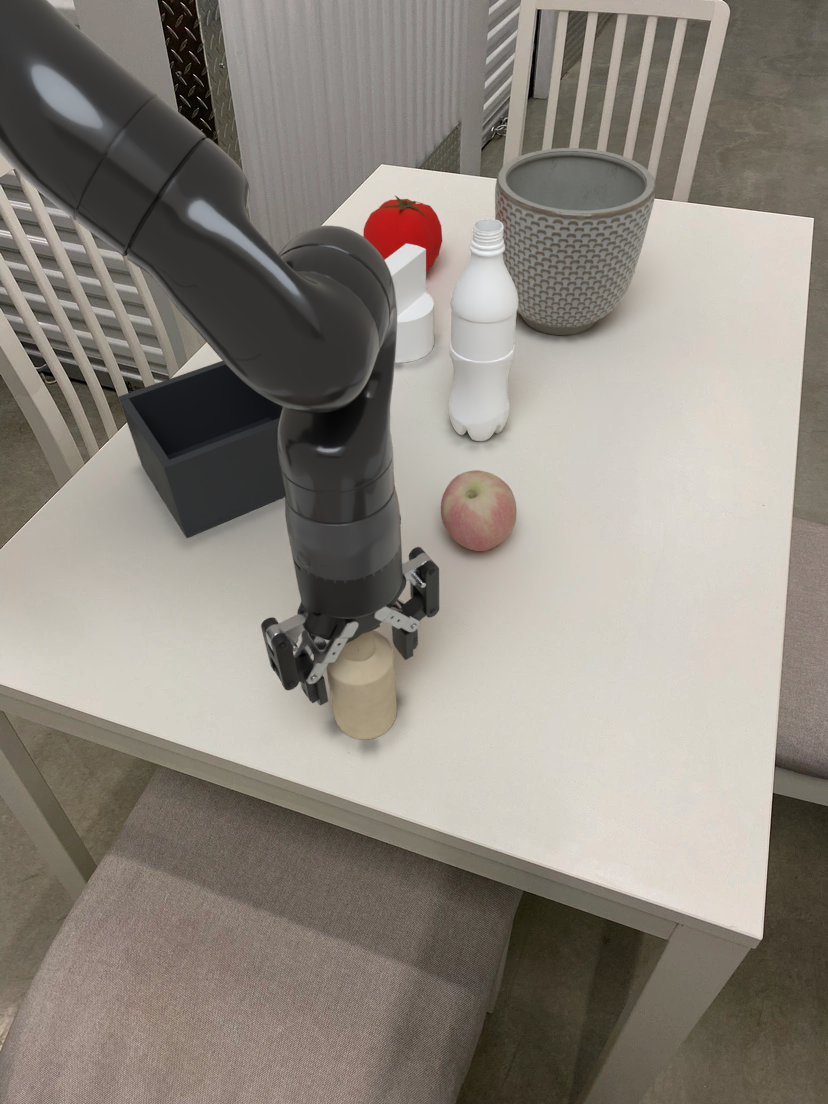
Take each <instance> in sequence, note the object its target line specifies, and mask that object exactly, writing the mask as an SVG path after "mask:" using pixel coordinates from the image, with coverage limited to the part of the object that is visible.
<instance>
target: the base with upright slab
mask: <svg viewBox="0 0 828 1104" xmlns="http://www.w3.org/2000/svg"><path fill="white" fill-rule="evenodd" d="M385 262H386V264H387V266H388V268H389V270H390V273H391V276H392V278H393V282H394V286H395V291H396V299H397V340H396V354H395V364H396V363H397V364H401V363H410V362H415V361H418V360H420V359H422V358H425V357H426V356H427V355H428V354H430V353H431V351H432V350H433V348H434V345H435V301H434V299H433V297H432V296H431V295H430V294H429V293H428V292H427V272H426V249H425V248H422V247H420V246H417V245H412V244H405V245H404V246H402V247H401V248H400V249H398V250H397V251H396V252H394V253H393V254H392V255H390V256H389V257H388V258H386V259H385Z"/></svg>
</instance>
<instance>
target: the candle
mask: <svg viewBox="0 0 828 1104" xmlns="http://www.w3.org/2000/svg"><path fill="white" fill-rule="evenodd" d="M325 671H326V676H327V681H328V687H329V688H328V689H329V693H330V699H331V706H332V712H333V716H334V720H335V723H336V724H337V726H338V728H339V730H341V732H343V733H344V734H345V735H346V736H348V737H350V738H352V739H355V740H356V739H357V740H364V741H365V740H371V739H375V738H378V737H381V736H382V735H384V734H385V733H387V732H388V731H389V730H390V729H391V727H392V726H393V725H394V722H395V720H396V717H397V711H398V707H397V705H398V704H397V688H396V673H395V657H394V649H393V646H392V645H391V642H390V640H388V638H387V637H385V636H384V634H382V633H381V632H378V631H377V630H372V631H370V632H367V633H363V634H361V635H360V636H359V637H357V638H356V639H354V640H353V641H351V642H349V643H347V644H345V646H344V647H343V649H342V651H341V653H340V655H339V656H338V658H337V660H336V661H335V662H334V663H329V664H328V665H327V667H326V669H325Z"/></svg>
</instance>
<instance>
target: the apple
mask: <svg viewBox="0 0 828 1104" xmlns="http://www.w3.org/2000/svg"><path fill="white" fill-rule="evenodd" d="M440 516H441V521H442V524H443V526H444V528H445V529H446V531H447V533H448V534H449V535H450V536H451V537H452V539H453V540H454V541H455V542H457V543H458V544H459V545H460V546H462V547H463V548H465V549H467V550H471V551H475V552H485V551H489V550H491V549H493V548H495V547H497V546H499V545H501V544H502V543H504V542H505V541H506V540H507V539H508V537H509V536H510V535H511V534H512V532H513V529H514V527H515V525H516V521H517V502H516V498H515V495H514V493H513V491H512V489H511V487H510V485H508V484H507V483H506V482H505V481H504V480H503V479H502V478H501V477H499V476H497V475H495V474H493V473H490V472H487V471H485V470H484V471H483V470H476V469H473V470H467V471H465V472H462V473H460V474H458V475H456V476H455V477H454V478H452V479H451V481H450V482H449V484H447V486H446V488H445V490H444V492H443V493H442V496H441V501H440Z"/></svg>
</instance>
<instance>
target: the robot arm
mask: <svg viewBox="0 0 828 1104" xmlns="http://www.w3.org/2000/svg"><path fill="white" fill-rule="evenodd" d="M0 155H1V156H2V157H3V158H4V159H5V161H7V162H8V164H10V166H11V167H12V168H13V170H15V171H16V172H17V173H18V174H19V175H20V176H21V177H22V178H23V179H24V180H25V181H26V182H28V183H29V185H31V186H32V187H33V188H34V189H35V190H36V191H37V192H38V193H40V194H41V195H42V196H43V197H45V198H46V199H47V200H48V201H49V202H51V203H52V204H53V205H55V206H56V207H57V208H58V209H59V210H61V211H62V212H63V213H65V214H66V215H67V216H68V217H70V218H71V219H73V221H76V222H77V223H78V224H79V225H81V226H82V227H83V228H84V229H86V230H87V231H89V232H90V233H92V235H94V236H95V237H96V238H98V239H99V240H100V241H102V242H103V243H105V244H106V245H107V246H108V247H110V248H111V249H112V250H114V251H116V252H117V253H118V254H119V255H120V256H122V257H126V259H127V260H128V261H129V262H131V263H132V264H133V265H135V266H136V267H137V268H139V269H141V270H142V271H144V272H145V273H146V274H148V275H149V276H150V277H151V278H152V279H153V280H154V281H155V283H156V284H157V285H158V286H159V287H160V289H161V290H162V291H163V293H165V295H166V296H167V297H168V299H169V300H170V301H171V302H172V305H174V306H175V308H176V309H177V310H178V311H179V313H180V314H181V315H182V316H183V317H184V318H185V319H186V321H188V323H189V324H190V325H191V326H192V327H193V328H194V329H195V331H196V332H197V333H198V334H199V336H201V337H202V339H203V340H204V342H206V343H207V345H208V346H209V347H210V348H211V349H212V350H213V352H215V354H216V355H217V356H218V357H219V358H220V360H221V361H224V363H225V364H226V365H227V366H228V367H229V368H230V369H231V370H232V371H233V372H234V373H235V374H236V375H237V376H238V377H239V378H240V379H241V380H242V381H243V382H244V383H246V384H247V385H248V386H249V387H250V388H251V389H253V390H254V391H256V392H257V393H259V394H260V395H261V396H263V397H265V398H266V399H268V400H270V401H272V402H274V403H276V404H278V405H280V406H282V407H283V408H282V411H281V414H280V417H279V421H278V426H277V436H276V445H277V455H278V461H279V467H280V472H281V477H282V483H283V488H284V493H285V497H284V499H285V500H284V501H285V502H284V503H285V504H284V506H285V507H284V513H285V516H284V517H285V522H286V523H285V524H286V531H287V535H288V540H289V541H288V542H289V545H290V551H291V557H292V561H293V562H292V563H293V566H294V572H295V578H296V582H297V587H298V592H299V596H300V604H299V606H298V609H297V610H296V611H297V613H296V614H295V615H293V616H291V617H289V618H287V619H284V620H283V621H281V622H279V621H278V620H277V618H276V617H273V616H270V617H267V618H265V620H263V621H262V623H261V624H260V628H261V631H262V632H261V633H262V636H263V641H264V644H265V649H266V653H267V657H268V660H269V665H270V667H271V669H272V670H273V672H274V673H275V674H276V677H278V679H279V680H280V682H281V684H282V687H283V688H284V690H285V691H291V690H294V689H295V688H297V687H298V685H300V688H301V690H302V691H303V693H304V695H305V696H306V698H307V699H308V701H309V702H310V703H312V704H314V703H317V704H318V705H319V706H320V707H321V706H323V705H325V704H327V703H329V697H328V691H327V686H326V679H325V676H324V673H325V671H326V667H327V665H328V664H329V663H334V662H335V661H336V660H337V658H338V656H339V655H340V653H341V651H342V649H343V647H344V646H345V644H347V643H349V642H351V641H353V640H354V639H356V638H357V637H359V636H360V635H361V634H363V633H367V632H370V631H372V630H373V631H375V630H376V629H379V628H380V627H381V624H382V623H383V622H384V623H386V624H388V625H389V626H391V635H392V643H393V646H394V648H395V649H396V650H397V652H398V653H399V655H400V656H401V657H402V658H403V659H404V660H405V661H408V660H409V659H411V658H412V657H413V658H414V651H415V650H416V649H417V648H418V645H419V636H418V634H419V633H418V629H419V628H420V627H421V621H422V619H424V618H425V617H427V618H429V619H430V618H433V617H435V616H437V614H438V613H439V612H440V567H439V566H438V564H436V563H435V561H434V560H433V559H432V558H431V557H430V556H429V555H428V553H426V551H425V550H424V548H422V547H421V546H415V547H414V548H412V549H411V550H410V552H409V554H408V560H406V562H403V554H402V553H403V552H402V551H403V550H402V529H401V524H402V516H401V510H400V503H399V498H398V497H399V496H398V494H397V489H396V485H395V484H396V483H395V482H396V481H395V464H394V462H395V461H394V447H393V446H394V445H393V437H392V431H391V406H392V405H391V403H392V394H393V388H394V387H393V386H394V376H395V364H396V362H395V354H396V340H397V299H396V291H395V286H394V282H393V278H392V276H391V273H390V270H389V268H388V266H387V264H386V262H385V260H384V259H383V257H382V256H381V254H380V253H379V251H378V250H377V249H376V248H375V247H374V246H373V245H372V244H371V243H370V242H369V241H368V240H367V239H365V238H364V237H363V235H361V233H358V232H356V231H354V230H352V229H350V228H347V227H343V226H340V225H319V226H315V227H311V228H308V229H306V230H304V231H302V232H300V233H298V234H297V235H296V236H294V237H293V238H292V239H291V240H290V241H288V242H287V243H286V244H285V245H284V247H283V248H282V249H281V251H280V252H277V251H276V250H275V249H274V247H272V245H271V244H270V243H269V241H268V240H267V239H266V238H265V237H264V236H263V235H262V234H261V232H260V231H258V229H257V228H256V227H255V226H254V224H253V223H252V221H251V220H250V216H249V214H248V211H249V210H248V209H249V202H250V195H251V193H250V192H251V190H250V184H249V181H248V177H247V176H246V174H245V172H244V171H243V169H242V168H241V166H240V165H239V164H238V163H237V162H236V161H235V160H234V159H233V158H232V157H231V156H230V155H229V154H228V153H227V152H225V151H224V149H222V148H221V147H220V145H218V144H217V143H215V141H213V139H211V138H209V137H207V135H206V134H205V133H204V132H203V131H202V130H200V128H198V127H197V126H196V125H194V124H193V123H192V122H191V121H190V120H188V119H187V118H186V117H185V116H184V115H183V114H181V113H180V112H179V111H178V110H177V109H175V108H174V107H173V106H171V104H169V103H168V102H167V101H166V100H165V99H163V98H162V97H161V96H159V94H157V93H156V92H155V91H154V90H152V89H151V88H150V87H149V86H148V85H147V84H145V83H144V82H143V81H141V79H139V78H138V77H137V76H135V75H134V74H133V73H132V72H130V71H129V70H128V69H127V68H126V67H125V66H124V65H122V64H121V63H120V62H119V61H117V60H116V59H115V58H114V57H113V56H112V55H110V54H109V53H108V52H107V51H106V50H104V49H103V48H102V47H101V46H100V45H99V44H97V43H96V42H95V41H93V39H92V38H91V37H89V36H88V35H87V34H85V32H83V31H82V30H81V29H80V28H79V27H77V26H76V25H75V24H74V23H73V21H71V20H69V19H68V18H67V17H66V16H65V15H64V14H63V13H62V12H60V11H59V9H58V8H56V7H55V6H54V5H53V4H52V3H51V2H50V1H48V0H0ZM265 239H266V240H267V241H268V242H267V241H266V240H265ZM408 581H409V586H410V587H409V591H410V598H409V599H408V600H407V601H406V602H404V601H403V600H401V599H399V598H400V596H401V595H402V593H403V591H404V590H405V588H406V586H407V582H408ZM299 637H300V638H301V641H300V644H299V645H297V644H298V642H299ZM327 641H328V642H327ZM294 652H295V653H294ZM312 655H313V659H312Z"/></svg>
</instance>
